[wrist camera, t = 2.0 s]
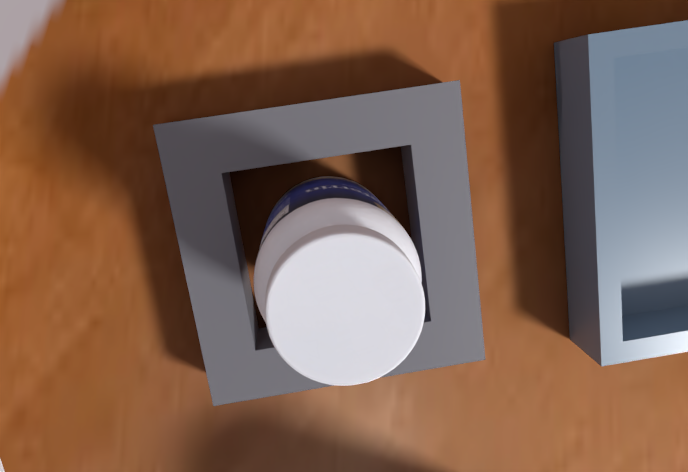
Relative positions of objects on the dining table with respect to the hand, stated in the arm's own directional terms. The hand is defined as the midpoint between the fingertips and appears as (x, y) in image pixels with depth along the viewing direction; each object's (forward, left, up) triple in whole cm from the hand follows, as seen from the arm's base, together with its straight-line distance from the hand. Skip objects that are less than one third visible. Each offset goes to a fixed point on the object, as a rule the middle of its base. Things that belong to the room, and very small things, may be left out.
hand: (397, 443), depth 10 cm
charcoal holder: (0, 0, -17) cm, 17 cm away
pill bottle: (0, 0, -17) cm, 17 cm away
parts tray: (+18, 0, -17) cm, 24 cm away
